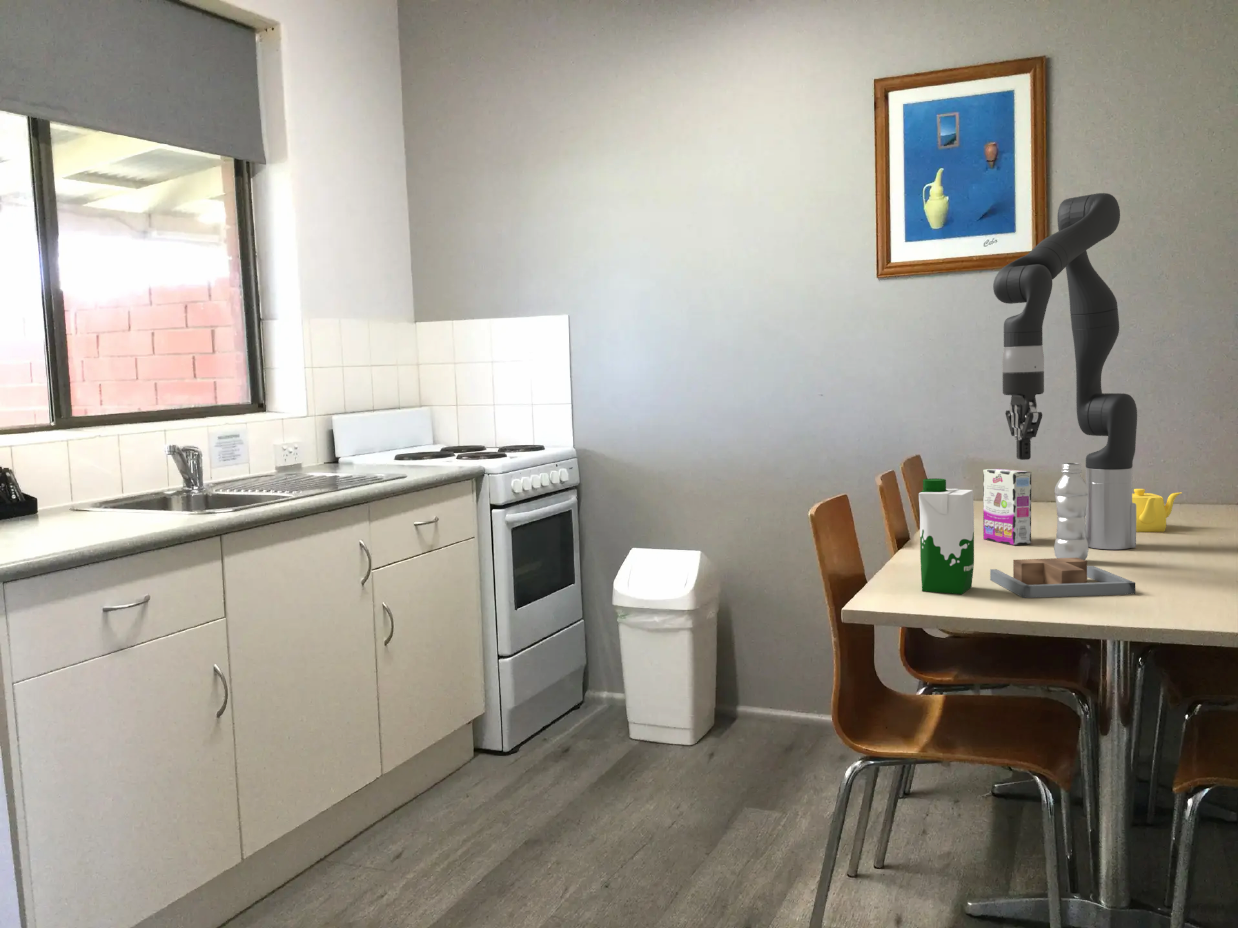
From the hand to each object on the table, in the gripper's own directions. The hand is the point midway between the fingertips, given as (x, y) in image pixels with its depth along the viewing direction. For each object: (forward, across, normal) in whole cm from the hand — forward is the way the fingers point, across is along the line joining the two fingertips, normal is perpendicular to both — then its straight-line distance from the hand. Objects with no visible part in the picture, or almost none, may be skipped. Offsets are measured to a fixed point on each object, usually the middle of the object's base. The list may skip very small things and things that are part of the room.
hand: (1023, 459), depth 207 cm
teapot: (+22, +45, -45) cm, 67 cm away
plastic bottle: (+22, +6, -12) cm, 26 cm away
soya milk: (+22, -16, +20) cm, 34 cm away
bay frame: (+22, -17, 0) cm, 28 cm away
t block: (+22, -16, 0) cm, 27 cm away
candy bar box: (+22, +33, -9) cm, 41 cm away
